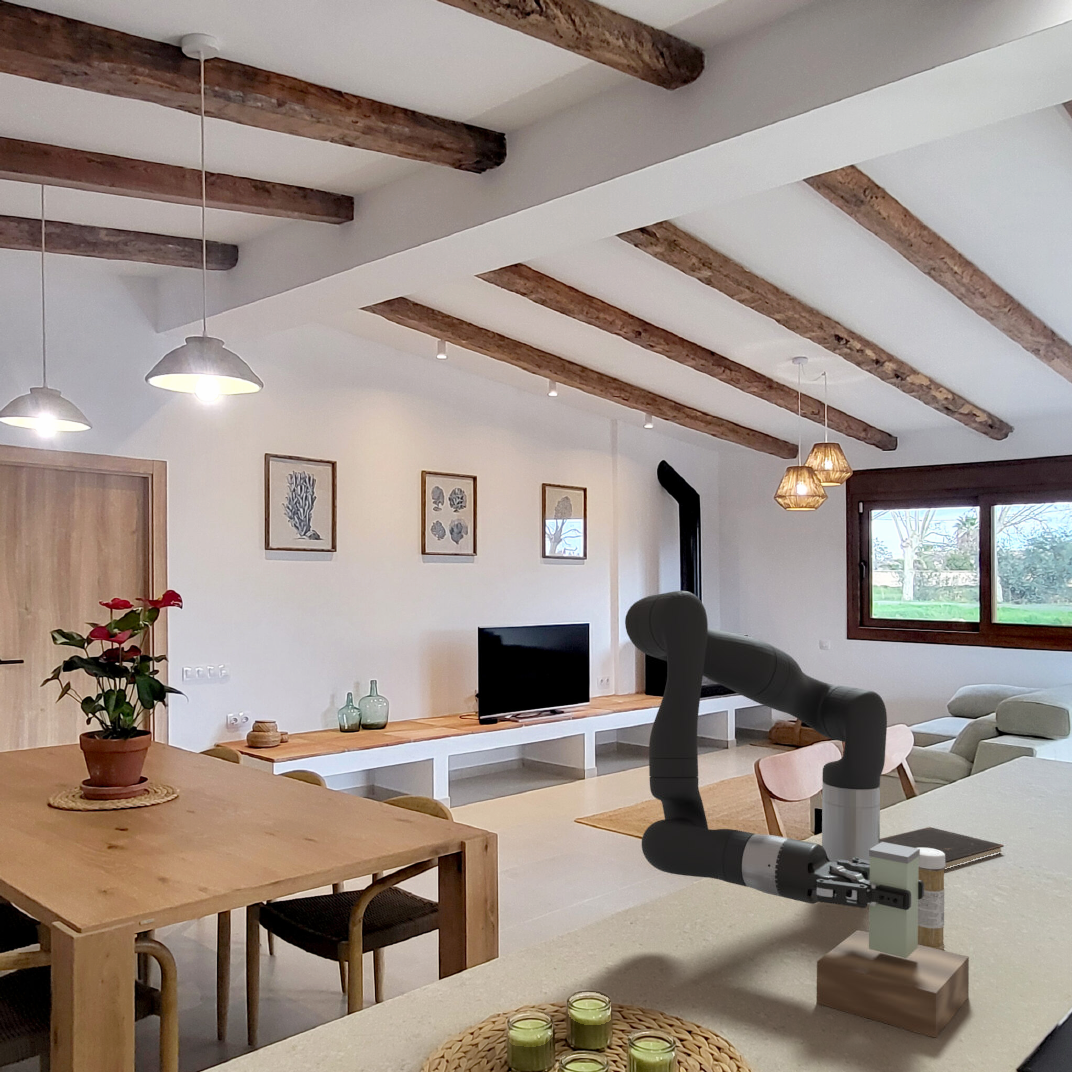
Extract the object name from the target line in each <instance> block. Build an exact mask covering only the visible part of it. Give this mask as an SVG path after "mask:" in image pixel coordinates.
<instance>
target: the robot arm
mask: <svg viewBox="0 0 1072 1072" xmlns="http://www.w3.org/2000/svg"><path fill="white" fill-rule="evenodd" d="M624 623H625V630H626V635H627V636H628V638H629V640H630V642H631V643H632V644H633V646H635V648H637V649H638V650H639V651H641V653H643V654H645V655H648V656H650V657H652V658H656V659H659V660H662V661H666V663H667V665H666V666H667V676H666V684H665V689H664V692H663V696H662V699H661V702H660V705H659V707H658V710H657V713H656V715H655V719H654V721H653V724H652V727H651V731H650V736H649V745H648V765H649V766H648V769H649V770H648V771H649V775H648V776H649V789H650V792H651V795H652V796H653V797H654V798H655V799H657V800H659V801H661V805H662V810H663V817H664V819H660V820H657V821H654V822H652V823H651V824H650V825H649V826H647V828H646V829H645V831H644V832H643V835H642V838H641V850H642V854H643V856H644V857H645V859H646V860H647V862H648V863H649V864H650V865H652V866H653V868H655V869H657V870H659V871H661V872H664V873H667V874H671V875H672V874H673V875H678V876H679V875H680V876H685V877H686V876H689V877H696V878H710V879H715V880H719V881H722V882H727V883H729V884H734V885H739V886H741V887H742V886H743V887H745V888H746V887H747V888H751V889H753V890H756V891H759V892H762V893H764V894H766V895H767V894H768V895H772V896H776V897H781V898H785V899H790V900H794V901H798V902H801V903H802V902H803V903H806V904H811V905H813V904H817V903H818V902H819V903H825V904H833V905H838V906H845V907H846V906H847V907H852V908H853V907H854V908H860V909H866V908H868V905H872V906H874V905H877V904H881V905H885V906H890V907H894V908H899V909H903V910H908V909H909V908H910V907H911V892H910V891H908V890H904V889H900V888H895V887H890V886H885V885H881V884H880V885H879V888H878V884H877V883H874V882H870V856H869V849H871V848H872V847H874V846H876V845H877V844H879V843H880V839H881V837H880V836H881V834H880V832H881V829H880V828H881V827H880V825H881V824H880V823H881V822H880V818H881V807H880V806H881V804H880V803H881V802H880V801H881V792H880V791H881V788H880V787H881V776H882V773H883V771H884V767H885V762H886V748H887V747H886V746H887V730H888V729H887V728H888V715H887V709H886V705H885V702H884V700H883V699H882V697H881V696H880V694H878V693H877V692H875V691H873V690H870V689H866V688H865V689H864V688H857V687H850V686H843V685H836V684H831V683H828V682H824V681H821V680H819V679H816V678H814V677H811V676H809V675H807V674H806V673H804V672H803V671H802V668H801V667H800V665H799V664H798V662H797V661H796V660H795V659H794V658H793V657H792V656H790V654H788V653H786V652H785V651H783V650H781V649H780V648H777V647H775V646H774V645H771V644H769V643H768V642H766V641H764V640H761V639H758V638H755V637H751V636H749V635H744V634H740V633H734V632H730V631H727V630H726V631H725V630H721V629H716V628H710V627H708V616H707V611H706V608H705V606H704V604H703V602H702V601H701V600H700V598H699V597H698V596H697V595H695V594H694V593H692V592H691V591H686V590H677V591H671V592H670V591H669V592H665V593H664V592H663V593H658V594H652V595H648V596H645V597H643V598H641V599H639V600H637V601H636V602H634V603H633V604H632V605H631V606H630V607H629V609H628V610H627V612H626V615H625V619H624ZM703 678H707V679H709V680H710V681H713V682H714V683H717V684H719V685H720V686H723V687H725V688H727V689H729V690H731V691H733V692H735V693H737V694H738V695H741V696H743V697H745V698H747V699H749V700H751V701H753V702H756V703H757V704H760V705H762V706H764V707H767V708H771V709H772V710H776V711H779V712H782V713H784V714H785V713H786V714H787V715H790V716H792V717H794V718H796V719H797V720H799V721H800V722H802V723H803V724H805V725H807V726H809V728H811V729H813V730H814V731H816V732H817V733H819V734H821V735H822V736H823V737H825V738H828V739H831V740H834V741H838V742H843V743H844V749H843V754H842V757H841V758H840V759H838V760H834V761H829V762H826V763H825V764H824V766H823V767H822V779H821V780H822V783H821V784H822V789H821V790H822V791H821V792H822V796H821V799H822V801H821V802H822V805H821V806H822V807H821V808H822V809H821V811H822V812H821V816H822V817H821V818H822V821H821V830H822V831H821V844H819V843H815V842H811V841H810V842H809V841H804V840H799V839H793V838H789V837H785V836H779V835H778V836H777V835H773V834H758V833H753V832H749V831H744V830H743V831H742V830H738V829H732V828H731V829H729V828H720V829H719V828H718V829H717V828H716V829H709V826H708V820H707V816H706V812H705V808H704V803H703V799H702V797H701V792H700V789H699V755H698V753H699V752H698V726H699V724H698V721H699V710H700V702H701V695H702V694H701V693H702V686H703V685H702V684H703ZM923 897H924V882H923V881H921V880H918V899H921V898H923Z"/></svg>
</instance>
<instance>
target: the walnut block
mask: <svg viewBox="0 0 1072 1072" xmlns="http://www.w3.org/2000/svg"><path fill="white" fill-rule="evenodd" d="M969 958H970V956H967V955H963V954H960V953H954V952H951V951H948V950H947V951H946V950H944V949H943V950H939V949H935V948H931V947H926V946H922V945H918V948H917V949H915V950H914V951H913V952H912V953H911V954H910V955H909V956H908V957H907V958H903V957H899V956H895V955H891V954H887V953H883V952H879V951H875V950H871V949H869V931H868V932H867V931H863V930H860V929H859V930H858V929H857V930H856V931H855V932H852V934H851V935H849V936H847V937H846V938H845V939H844V940H843V941H841V942H840V943H839V944H838V945H836V946H835V947H834V948H832V949H831V950H830V951H828V952H827V953H826V954H824V956H822V957H821V958H820V959H818V960H816V1004H817V1005H821V1006H825V1007H829V1008H832V1009H836V1010H838V1011H841V1012H846V1013H849V1014H853V1015H857V1016H860V1017H862V1018H866V1019H869V1020H872V1021H873V1020H874V1021H876V1022H880V1023H883V1024H887V1025H890V1026H893V1027H896V1028H901V1029H904V1030H906V1031H911V1032H914V1033H918V1034H921V1035H924V1036H929V1037H931V1038H935V1039H936V1038H937V1037H938V1036H939V1034H940V1033H941V1032H942V1031H943V1030H944V1028H945V1027H946V1026H947V1025H948V1024H949V1022H950V1021H951V1020H952V1018H953V1017H954V1016H955V1015H956V1014H957V1012H958V1011H960V1008H962V1007H963V1005H964V1004H965V1002H967V1000H968V998H969V995H970V994H969V992H970V991H969V987H970V986H969V985H970V982H969V975H970V972H969V971H970V969H969V968H970V966H969V965H970V964H969V963H970V962H969V961H970V959H969Z"/></svg>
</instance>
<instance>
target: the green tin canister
mask: <svg viewBox="0 0 1072 1072" xmlns="http://www.w3.org/2000/svg"><path fill="white" fill-rule="evenodd" d="M869 856H870V882H874V883H877V884H878V888H879V885H880V884H881V885H885V886H890V887H895V888H900V889H904V890H908V891H910V892H911V907H910V908H909V909H908V910H903V909H899V908H894V907H890V906H885V905H881V904H877V905H874V906H872V905H869V904H868V905H869V911H868V912H869V913H868V914H869V915H868V933H869V949H871V950H875V951H879V952H883V953H887V954H891V955H895V956H899V957H903V958H907V957H908V956H909V955H910V954H911V953H912V952H913V951H914V950H915V949H917V948H918V871H919V856H920V849H918V848H912V847H907V846H902V845H896V844H891V843H886V842H881V843H879V844H877V845H876V846H874V847H872V848H871V849H869Z"/></svg>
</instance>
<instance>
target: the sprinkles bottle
mask: <svg viewBox="0 0 1072 1072" xmlns="http://www.w3.org/2000/svg"><path fill="white" fill-rule="evenodd" d="M918 849H920V856H919V871H918V880H921V881H923V882H924V897H923V898H921V899H918V945H922V946H926V947H931V948H935V949H939V950H943V951H944V949H945V943H944V942H945V941H944V939H945V938H944V927H945V870H944V869H945V868H944V867H945V854H944V853H943V852H942V851H940V850H937V849H932V848H918Z"/></svg>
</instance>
